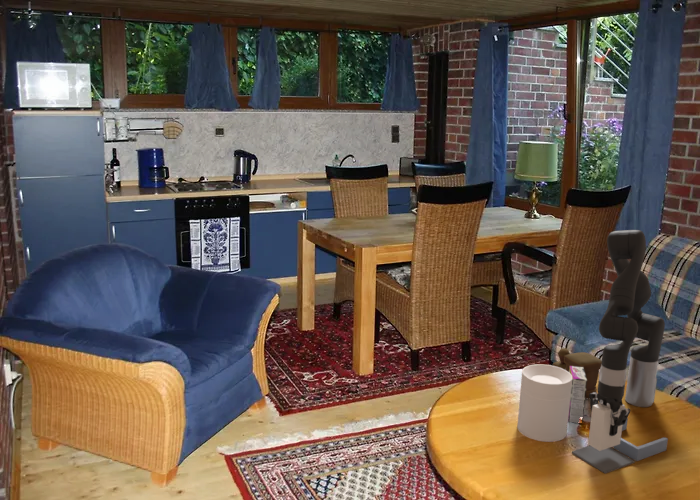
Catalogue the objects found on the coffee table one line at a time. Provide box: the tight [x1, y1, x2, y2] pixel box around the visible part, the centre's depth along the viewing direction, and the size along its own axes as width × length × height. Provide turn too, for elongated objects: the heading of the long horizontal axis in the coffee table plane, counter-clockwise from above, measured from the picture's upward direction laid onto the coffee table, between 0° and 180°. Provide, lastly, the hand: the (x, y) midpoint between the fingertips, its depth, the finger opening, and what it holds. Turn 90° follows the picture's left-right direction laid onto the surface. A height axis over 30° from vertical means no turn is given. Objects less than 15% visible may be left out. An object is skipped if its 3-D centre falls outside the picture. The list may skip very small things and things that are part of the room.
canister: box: [517, 363, 572, 443], centre depth 227 cm, size 16×16×20 cm
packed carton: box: [587, 404, 626, 451], centre depth 210 cm, size 4×9×13 cm, turn 120°
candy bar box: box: [568, 366, 587, 424], centre depth 237 cm, size 11×5×16 cm, turn 168°
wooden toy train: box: [552, 347, 602, 401], centre depth 254 cm, size 20×11×17 cm, turn 22°
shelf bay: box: [611, 418, 669, 462], centre depth 221 cm, size 14×16×4 cm
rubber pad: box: [571, 445, 636, 474], centre depth 213 cm, size 13×13×1 cm
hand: (605, 431), depth 210 cm, fingers closed on packed carton, 4 cm apart
